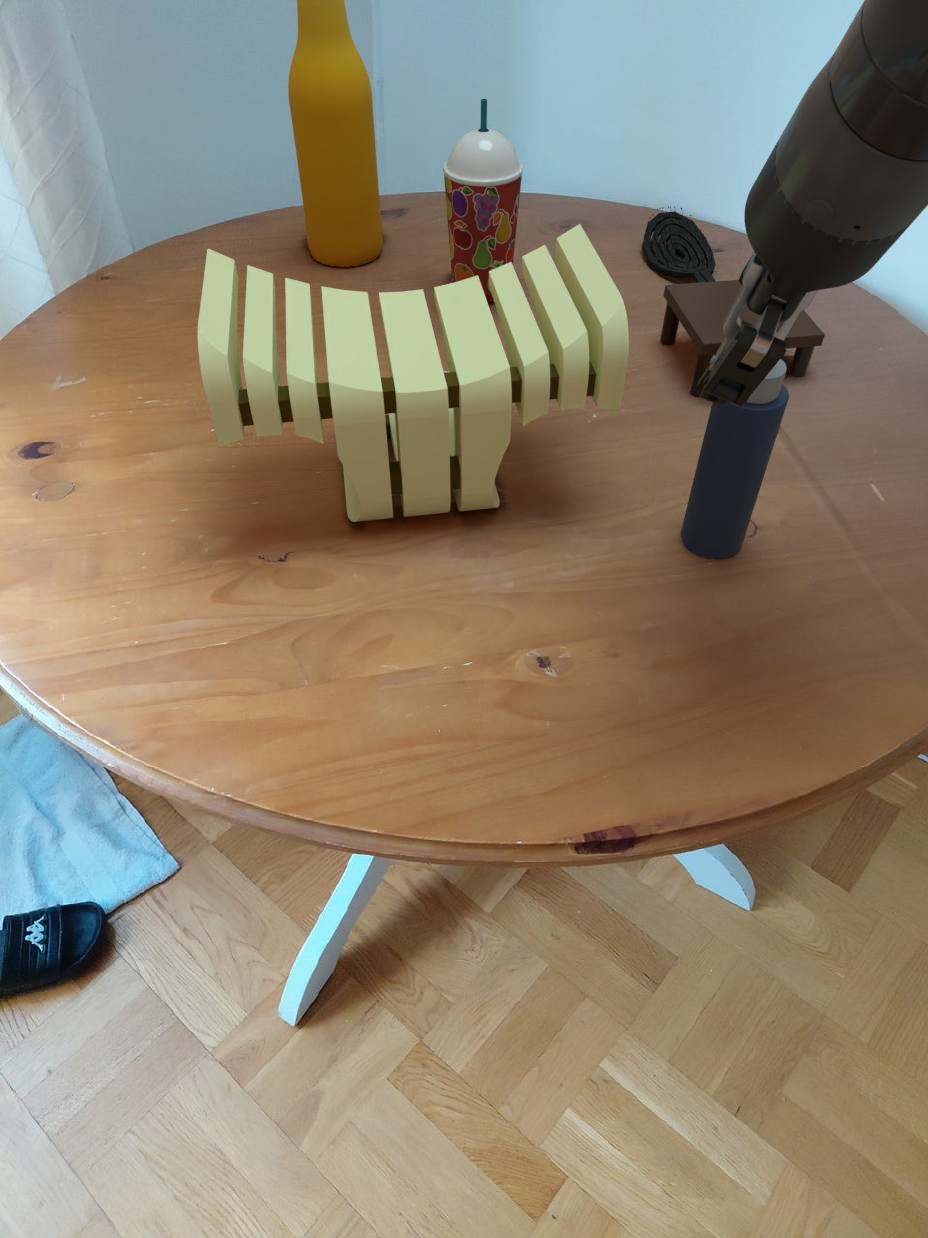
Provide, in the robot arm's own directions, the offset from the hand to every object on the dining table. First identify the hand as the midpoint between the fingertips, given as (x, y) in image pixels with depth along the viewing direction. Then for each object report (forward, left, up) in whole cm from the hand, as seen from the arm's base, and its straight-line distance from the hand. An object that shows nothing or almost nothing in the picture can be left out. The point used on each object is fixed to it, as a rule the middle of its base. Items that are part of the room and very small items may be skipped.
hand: (732, 338), depth 56 cm
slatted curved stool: (+20, -13, -19) cm, 30 cm away
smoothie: (+9, -46, -19) cm, 50 cm away
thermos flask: (-3, -1, -19) cm, 19 cm away
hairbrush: (-16, -45, -19) cm, 51 cm away
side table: (-14, -27, -19) cm, 36 cm away
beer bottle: (+24, -59, -19) cm, 66 cm away
